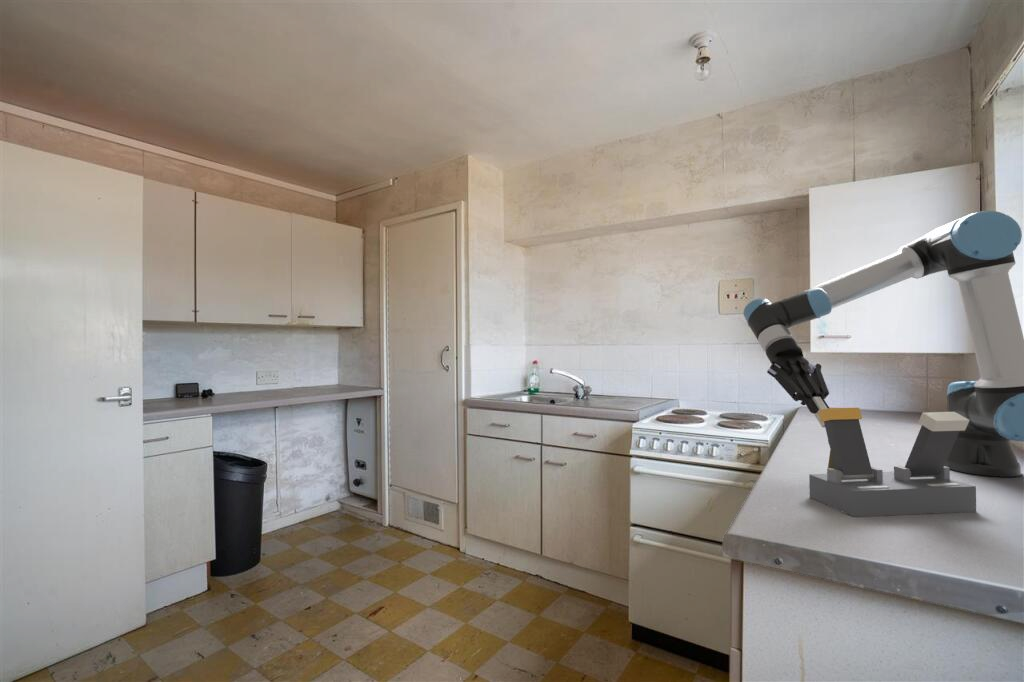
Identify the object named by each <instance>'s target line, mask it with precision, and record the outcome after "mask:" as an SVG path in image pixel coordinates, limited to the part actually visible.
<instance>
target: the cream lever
mask: <svg viewBox="0 0 1024 682" xmlns="http://www.w3.org/2000/svg"><path fill="white" fill-rule="evenodd" d="M969 421H970V420H969V419H967V418H965V417H963V416H961V415H959V414H958V413H956V412H948V411H931V412H930V411H929V412H924V411H922V413H921V415H920V418H919V420H918V424H920V425H921V427H920V429H919V431H918V433H917V436H916V439H915V442H914V443H913V445H912V449H911V450H910V453H909V455H908V458H907V461H906V463H905V465H904V468H908V469H910V478H911V477H939V476H940V475H941V472H942V470H943V467H944V465H945V463H946V461H947V458H948V456H949V454H950V452H951V450H952V447H953V445H954V443H955V441H956V438H957V436H958V434H959V432H960V431H965V429H966V427H967V425H968V423H969Z"/></svg>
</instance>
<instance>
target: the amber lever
mask: <svg viewBox="0 0 1024 682" xmlns="http://www.w3.org/2000/svg"><path fill="white" fill-rule="evenodd" d="M818 413H819V417H820V421H821V422H824V424H825V427H824V428H825V432H826V436H827V441H829V443H828V445H829V450H830V449H831V454H832V458H833V462H834V466H835V469H836V470H839V471H841V475H842V480H856V479H873V478H874V473H873V472H872V469H871V467H872V465H871V461H870V458H869V455H868V450H867V446H866V442H865V439H864V434H863V430H862V428H861V423H860V420H862V419H863V417H862V413H861V410H860V407H831V408H830V407H829V408H828V409H824V410H820V411H818Z"/></svg>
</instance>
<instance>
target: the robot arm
mask: <svg viewBox="0 0 1024 682" xmlns="http://www.w3.org/2000/svg"><path fill="white" fill-rule="evenodd" d="M1022 235H1023V233H1022V228H1021V227H1020V225H1019V223H1018V222H1017V221H1016V219H1014V218H1013V217H1011V216H1010V215H1008V214H1005V213H1004V212H1000V211H997V210H995V211H994V210H982V211H977V212H975V213H974V212H973V213H969V214H967V215H963V216H961V217H960V218H958V219H956V220H954V221H951V222H948V223H946V224H944V225H941V226H939V227H936V228H935V229H933V230H931V231H930V232H928V233H926V234H925V235H923V236H921V237H919V238H918V239H915V240H913V241H912V242H910V243H907V244H905V245H903V246H901V247H899V249H898V250H897V252H895V253H893V254H891V255H888V256H886V257H884V258H883V257H882V258H881V259H878V260H876V261H874V262H872V263H869V264H867V265H864V266H861V267H859V268H857V269H854V270H852V271H849V272H847V273H845V274H842V275H840V276H837V277H836V278H833V279H831V280H828V281H825V282H823V283H820V284H818V285H816V286H813V287H811V288H808V289H806V290H804V291H801V292H798V293H796V294H794V295H791V296H789V297H786V298H783V299H781V300H778V301H775V302H771V301H770V300H769V299H767V298H756V299H754V300H751V301H750V302H748V303H747V304H746V306H745V307H744V309H743V317H744V319H745V320H746V323H747V326H748V327H749V328H750V330H751V332H752V333H753V334H754V336H755V338H756V339H757V341H758V343H759V345H760V346H761V348H762V350H763V352H764V353H765V355H766V357H767V359H768V361H769V363H770V364H771V365H770V366H769V368H768V369H767V372H766V373H767V374H768V375H770V376H771V377H773V378H774V379H775V381H776V382H777V383H778V384H779V386H781V387H782V389H784V391H785V392H786V393H787V394H788V395H789V396H790V397H791V398H792V400H794V402H799V401H800V405H802V406H806V408H807V409H808V411H809V412H810V413H811V414H813V415H814V416H815V418H816V419H817V421H818V423H819V425H820V426H821V428H825V424H824V422H821V421H820V417H819V413H818V411H820V410H824V409H828V408H830V406H829V405H828V404H827V402H826V398H827V397H828V396H829V395H830V391H829V388H828V386H827V384H826V380H825V379H824V378H825V377H824V375H823V373H822V365H821V364H820V363H816V364H815V365H814V364H812V363H810V362H809V360H808V359H807V358H805V357H804V354H803V349H802V348H801V346H800V345H799V344H798V342H797V341H796V339H795V337H794V336H793V334H792V333H791V331H790V329H789V328H791V327H794V326H797V325H800V324H804V323H807V322H810V321H812V320H816V319H820V318H822V317H824V316H825V317H826V316H827V315H829V314H830V313H831V312H832V309H834V308H837V307H839V306H841V305H845V304H847V303H849V302H852V301H855V300H856V299H857V300H858V299H860V298H862V297H865V296H867V295H870V294H872V293H875V292H877V291H880V290H882V289H885V288H887V287H890V286H892V285H895V284H898V283H900V282H904V281H906V280H908V279H911V278H913V279H916V280H918V279H921V278H923V277H925V276H929V275H933V274H936V273H940V272H946V271H947V274H948V275H947V276H948V277H949V278H952V279H953V280H955V281H957V282H958V285H959V290H960V294H961V297H962V303H963V307H964V308H963V309H964V310H965V316H966V320H967V324H968V329H969V333H970V337H971V340H972V346H973V350H974V354H975V359H976V363H977V367H978V370H979V375H980V376H979V377H980V378H979V379H978V380H976V381H975V380H971V381H955V382H954V381H953V382H950V384H949V385H947V392H946V398H947V399H946V401H947V404H946V405H947V412H956V413H958V414H959V415H961V416H963V417H965V418H967V419H969V420H970V421H969V423H968V425H967V427H966V429H965V431H960V432H959V434H958V436H957V438H956V441H955V443H954V445H953V447H952V450H951V452H950V454H949V456H948V458H947V461H946V463H945V465H944V466H945V467H949V468H950V470H951V471H957V472H961V473H965V474H966V473H967V474H972V475H978V476H979V475H980V476H987V477H988V476H989V477H998V476H1000V477H999V478H1001V477H1003V478H1006V477H1007V478H1010V477H1011V478H1013V477H1014V476H1015V477H1019V475H1020V476H1021V475H1022V468H1021V464H1020V463H1019V461H1018V459H1017V455H1016V453H1015V451H1014V449H1013V446H1012V444H1011V441H1013V442H1014V441H1015V442H1021V443H1022V442H1023V443H1024V333H1023V330H1022V325H1021V322H1020V321H1021V320H1020V316H1019V313H1018V309H1017V304H1016V300H1015V295H1014V293H1013V289H1012V283H1011V279H1010V275H1009V272H1010V270H1011V269H1012V268H1013V267H1014V266H1015V265H1016V260H1015V259H1016V258H1015V255H1014V251H1015V250H1017V248H1018V246H1019V245H1020V244H1021V241H1022V238H1023V237H1022ZM1015 477H1014V478H1015Z"/></svg>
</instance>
